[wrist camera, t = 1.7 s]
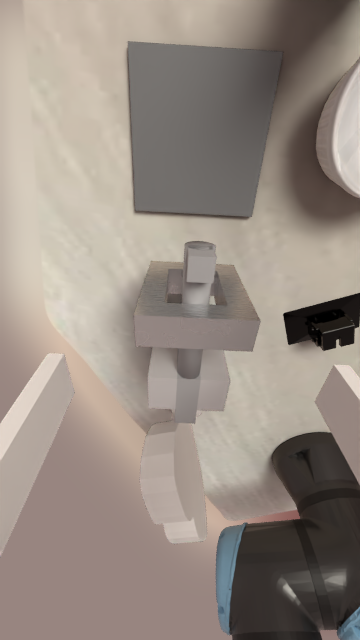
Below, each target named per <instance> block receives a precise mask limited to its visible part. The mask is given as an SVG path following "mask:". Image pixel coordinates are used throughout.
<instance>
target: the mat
mask: <svg viewBox="0 0 360 640" xmlns="http://www.w3.org/2000/svg"><path fill="white" fill-rule="evenodd" d="M282 56H283V52H281V51H266V50H251V49H236V48H221V47H206V46H191V45H176V44H160V43H145V42H130V41H128V60H129V82H130V105H131V127H132V150H133V172H134V195H135V211H154V212H172V213H191V214H210V215H228V216H247V217H252V213H253V208H254V203H255V197H256V192H257V187H258V182H259V176H260V171H261V166H262V161H263V155H264V150H265V145H266V140H267V134H268V129H269V124H270V119H271V114H272V108H273V103H274V98H275V93H276V87H277V82H278V77H279V72H280V66H281V61H282Z"/></svg>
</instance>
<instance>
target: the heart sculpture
mask: <svg viewBox="0 0 360 640" xmlns="http://www.w3.org/2000/svg"><path fill="white" fill-rule="evenodd" d="M170 410H171V412H172V421H166V422H160V423H157V424H154V425H152V426H151V428H150V430H149V431H148V433H147V435H146V438H145V443H144V447H143V452H142V456H141V467H140V479H139V480H140V487H141V493H142V497H143V500H144V503H145V506H146V509H147V511H148V513H149V515H150V517H151V519H152V521H153V522H154V523H155V524H163V526H164V529H165V534H166V537H167V539H168V541H169V542H170V543H173V544H178V543H190V542H203V541H205V540H206V537H207V518H206V506H205V495H204V487H203V480H202V474H201V467H200V462H199V457H198V452H197V448H196V443H195V439H194V434H193V430H192V425H191V423H175V409H170ZM201 414H202V413H201V410H197V412H196V417H197V416H199V415H201Z"/></svg>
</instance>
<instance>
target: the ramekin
mask: <svg viewBox="0 0 360 640" xmlns="http://www.w3.org/2000/svg"><path fill="white" fill-rule="evenodd" d="M316 151H317V157H318V161H319V164H320V165H321V168H322V170H323V171H324V173H325V174H326V175H327V176H328V177H329V179H330V180H332V181H334V183H336V184H337V185H339V186H341V187H342V188H343V189H344V190H345V191H346V192H348V193H349V194H351V195H353V196H355V197H357V198H360V58H359V59H358V60H357V62H356V63H355V64H354V65H353V66H352V67H351V68H350V69H349V70H348V71H347V72H346V74H345V75H344V76H343V77H342V79H341V80H340V81H339V82H338V84H337V85H336V87H335V88H334V90H333V91H332V93H331V94H330V96H329V98H328V100H327V102H326V103H325V106H324V109H323V111H322V113H321V117H320V120H319V124H318V130H317V138H316Z"/></svg>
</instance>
